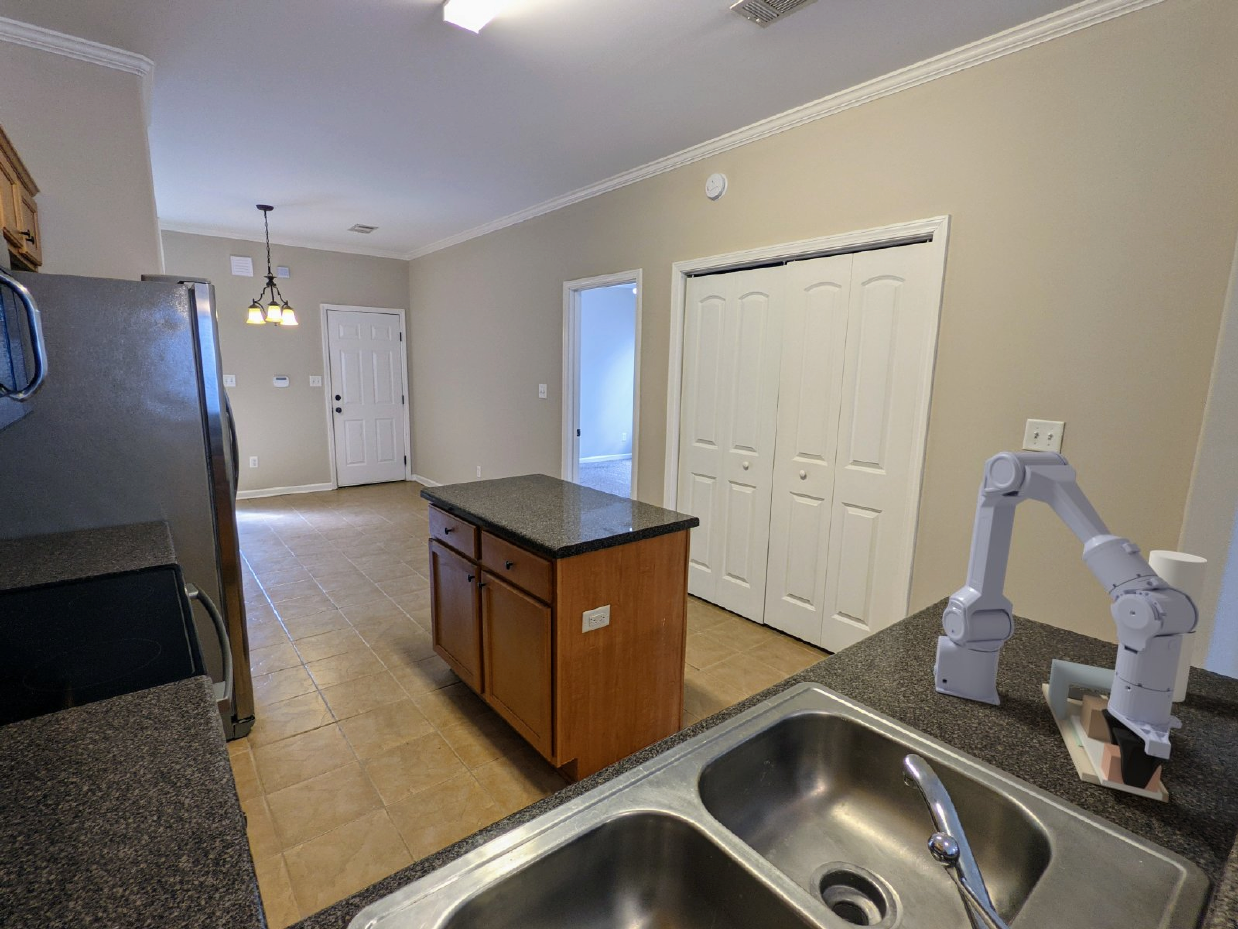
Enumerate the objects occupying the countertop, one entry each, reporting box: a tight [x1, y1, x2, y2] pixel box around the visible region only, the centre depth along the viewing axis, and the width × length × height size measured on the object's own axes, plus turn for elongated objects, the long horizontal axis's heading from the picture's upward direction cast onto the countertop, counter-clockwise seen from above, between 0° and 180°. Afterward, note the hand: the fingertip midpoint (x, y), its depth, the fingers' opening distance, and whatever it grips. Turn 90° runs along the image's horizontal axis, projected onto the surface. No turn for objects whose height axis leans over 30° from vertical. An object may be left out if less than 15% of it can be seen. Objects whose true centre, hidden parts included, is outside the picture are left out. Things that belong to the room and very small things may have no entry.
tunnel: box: [1048, 658, 1115, 720], centre depth 93 cm, size 9×8×8 cm
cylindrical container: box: [1148, 549, 1208, 703], centre depth 101 cm, size 7×7×25 cm
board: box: [1041, 683, 1170, 803], centre depth 89 cm, size 9×27×1 cm, turn 153°
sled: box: [1070, 695, 1163, 801], centre depth 82 cm, size 6×17×5 cm, turn 153°
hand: (1128, 777), depth 76 cm, fingers closed on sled, 3 cm apart
